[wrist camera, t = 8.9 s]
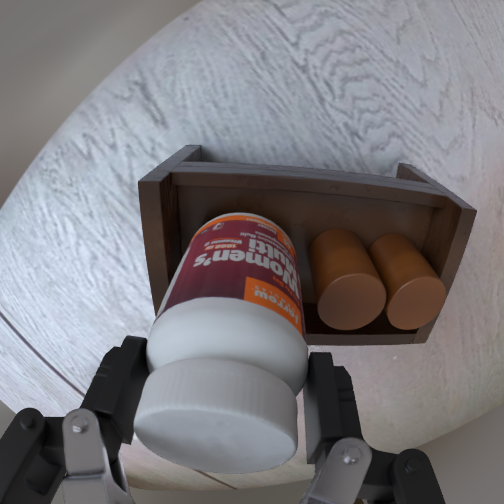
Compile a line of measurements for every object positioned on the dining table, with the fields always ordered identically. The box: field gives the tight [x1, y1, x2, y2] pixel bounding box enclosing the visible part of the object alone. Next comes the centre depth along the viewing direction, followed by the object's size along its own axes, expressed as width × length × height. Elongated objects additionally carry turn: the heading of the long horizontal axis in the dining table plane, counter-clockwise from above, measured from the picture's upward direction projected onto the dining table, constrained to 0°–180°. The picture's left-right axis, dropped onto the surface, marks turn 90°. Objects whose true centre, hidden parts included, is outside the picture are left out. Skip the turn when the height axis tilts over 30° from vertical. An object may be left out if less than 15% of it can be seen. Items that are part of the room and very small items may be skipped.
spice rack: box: [138, 145, 477, 346], centre depth 20 cm, size 10×18×12 cm, turn 87°
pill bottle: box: [134, 213, 309, 474], centre depth 13 cm, size 6×6×11 cm
